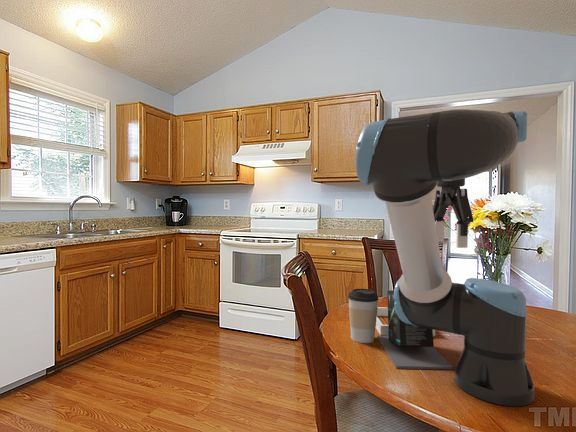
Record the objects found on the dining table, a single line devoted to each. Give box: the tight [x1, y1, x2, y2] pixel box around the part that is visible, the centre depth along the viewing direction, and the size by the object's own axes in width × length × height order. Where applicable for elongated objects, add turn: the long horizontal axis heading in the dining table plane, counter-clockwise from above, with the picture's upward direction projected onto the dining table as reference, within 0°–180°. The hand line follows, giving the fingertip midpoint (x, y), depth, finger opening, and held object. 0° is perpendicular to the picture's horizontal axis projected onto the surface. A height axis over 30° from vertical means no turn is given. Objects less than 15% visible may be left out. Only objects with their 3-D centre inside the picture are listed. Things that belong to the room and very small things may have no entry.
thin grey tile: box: [376, 335, 454, 371], centre depth 94 cm, size 20×14×1 cm
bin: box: [375, 306, 436, 337], centre depth 116 cm, size 20×17×3 cm
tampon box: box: [386, 289, 435, 348], centre depth 96 cm, size 11×9×15 cm
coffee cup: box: [347, 288, 379, 344], centre depth 103 cm, size 9×9×15 cm
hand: (449, 244), depth 101 cm, fingers open, 13 cm apart
